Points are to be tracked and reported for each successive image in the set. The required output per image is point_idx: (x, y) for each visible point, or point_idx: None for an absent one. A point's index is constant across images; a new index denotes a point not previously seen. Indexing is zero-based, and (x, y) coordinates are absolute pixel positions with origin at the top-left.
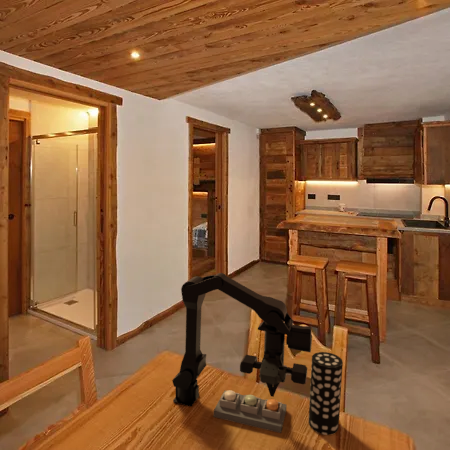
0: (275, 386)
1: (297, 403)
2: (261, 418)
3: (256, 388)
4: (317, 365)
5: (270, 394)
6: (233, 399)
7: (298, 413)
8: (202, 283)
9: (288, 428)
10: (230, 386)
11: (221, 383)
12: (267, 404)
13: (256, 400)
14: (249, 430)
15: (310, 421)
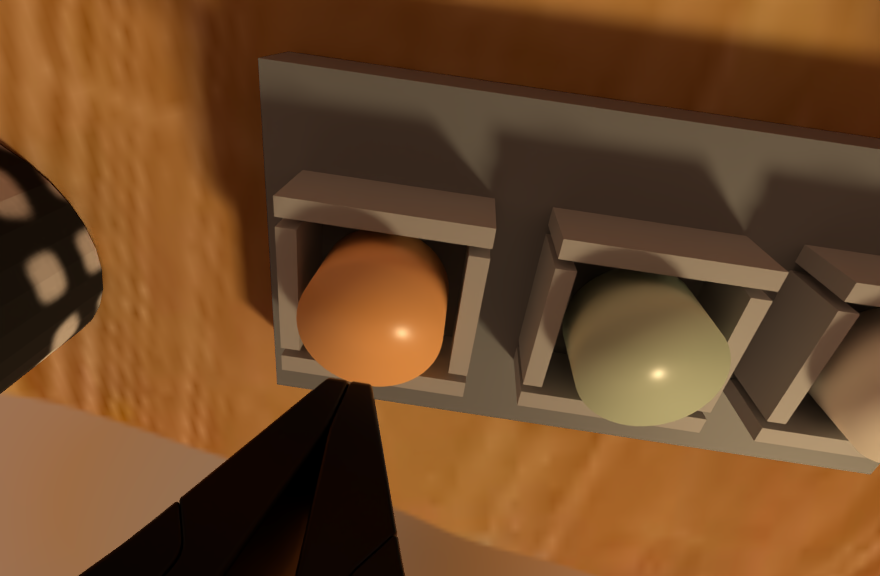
0: (173, 550)
1: (233, 423)
2: (499, 153)
3: (544, 522)
4: None
5: (367, 402)
6: (868, 347)
7: (200, 331)
8: None
9: (235, 139)
10: (751, 526)
11: (823, 546)
12: (429, 294)
13: (572, 354)
14: (627, 19)
15: (26, 218)
